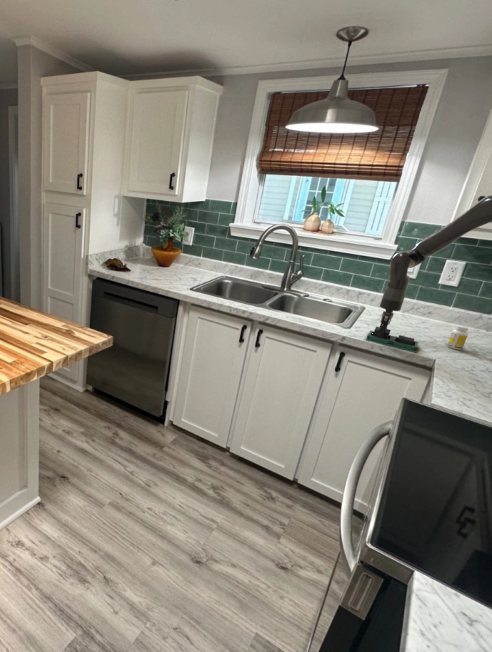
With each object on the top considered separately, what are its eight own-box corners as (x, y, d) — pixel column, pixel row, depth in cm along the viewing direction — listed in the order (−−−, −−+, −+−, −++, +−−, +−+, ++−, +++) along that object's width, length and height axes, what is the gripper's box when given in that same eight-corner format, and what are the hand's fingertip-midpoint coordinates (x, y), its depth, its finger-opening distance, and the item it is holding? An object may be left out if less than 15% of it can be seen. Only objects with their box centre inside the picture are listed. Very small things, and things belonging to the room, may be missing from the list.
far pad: (388, 336, 180) (390, 329, 179) (387, 339, 176) (389, 332, 175) (374, 332, 183) (376, 326, 182) (372, 335, 179) (374, 329, 178)
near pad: (412, 345, 175) (414, 338, 174) (411, 348, 171) (413, 342, 170) (396, 341, 178) (399, 335, 177) (395, 344, 174) (398, 338, 173)
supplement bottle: (463, 348, 178) (472, 327, 175) (459, 350, 175) (468, 329, 172) (448, 344, 182) (457, 323, 179) (444, 346, 179) (452, 325, 176)
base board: (416, 346, 177) (418, 341, 176) (415, 354, 168) (417, 348, 167) (369, 334, 187) (370, 329, 186) (365, 341, 178) (367, 336, 177)
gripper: (402, 303, 166) (389, 341, 172) (404, 297, 176) (392, 333, 182) (380, 299, 170) (369, 336, 176) (384, 293, 181) (373, 328, 187)
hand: (381, 334), depth 179 cm, fingers closed on far pad, 5 cm apart
